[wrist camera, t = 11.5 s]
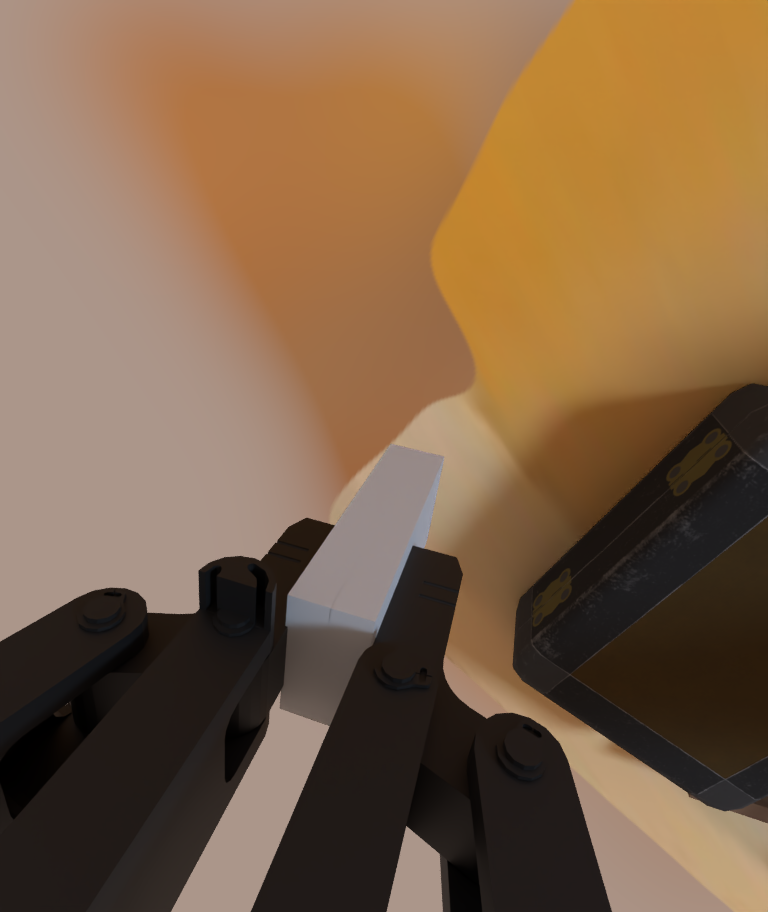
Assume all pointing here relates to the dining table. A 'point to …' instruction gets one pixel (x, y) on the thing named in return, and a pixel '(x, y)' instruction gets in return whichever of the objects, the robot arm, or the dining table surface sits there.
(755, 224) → the dining table surface
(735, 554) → the cash box
